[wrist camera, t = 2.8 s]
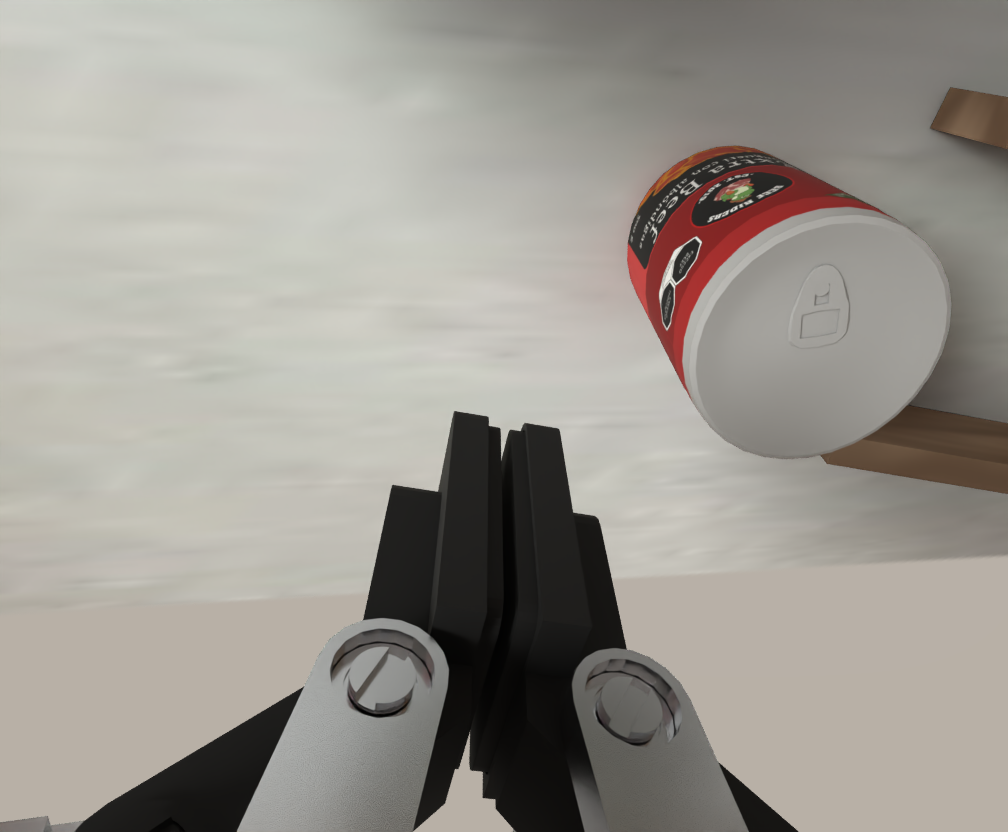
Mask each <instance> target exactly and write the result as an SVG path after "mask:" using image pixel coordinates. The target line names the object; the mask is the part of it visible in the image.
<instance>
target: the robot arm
mask: <svg viewBox="0 0 1008 832" xmlns="http://www.w3.org/2000/svg"><path fill="white" fill-rule="evenodd" d="M469 732H470V757H469V759H470V762H469V763H470V770H472V771H482V772H483V798H488V799H496V809H497V811H498V812H499V813H500V814H501V815H502V816H503V817H504V819H505V820H506V821H507V822H508V823H509V824H510V825H511V827H512V828H513V832H798V831H797V830H796V829H795V828H794V827H793V826H791V825H790V824H789V823H788V822H787V821H786V820H784V819H783V818H782V817H781V816H780V815H779V814H778V813H776V812H775V811H774V810H773V809H772V808H771V807H769V806H768V805H767V804H766V803H765V802H764V801H763V800H761V799H760V798H759V797H758V796H757V795H756V794H754V793H753V792H752V791H751V790H750V789H749V788H748V787H746V786H745V785H744V784H743V783H742V782H741V781H739V780H738V779H737V778H736V777H735V776H734V775H733V774H731V773H730V772H729V771H728V770H726V768H724V767H723V766H722V765H721V764H720V763H719V762H718V761H717V759H716V756H715V754H714V752H713V750H712V747H711V745H710V743H709V741H708V738H707V736H706V734H705V732H704V729H703V727H702V725H701V722H700V720H699V718H698V716H697V714H696V711H695V709H694V707H693V705H692V702H691V700H690V698H689V696H688V695H687V693H686V692H685V690H684V688H683V686H682V685H681V683H680V682H679V681H678V680H677V679H676V678H675V677H674V676H673V675H672V674H671V673H670V672H669V671H668V670H667V669H666V668H665V667H663V666H662V665H660V664H659V663H657V662H655V661H654V660H653V659H651V658H650V657H648V656H645V655H642V654H640V653H637V652H635V651H632V650H627V649H626V644H625V639H624V634H623V630H622V625H621V620H620V615H619V611H618V606H617V601H616V597H615V592H614V587H613V582H612V578H611V573H610V568H609V564H608V559H607V554H606V549H605V545H604V540H603V535H602V531H601V526H600V523H599V520H598V518H597V517H595V516H591V515H585V514H578V513H573V509H572V503H571V497H570V491H569V485H568V478H567V472H566V466H565V460H564V454H563V448H562V442H561V435H560V431H559V429H558V428H552V427H546V426H540V425H534V424H528V423H524V425H523V427H522V429H521V431H515V430H510V431H509V433H508V437H507V440H506V444H505V448H504V452H503V456H502V460H501V431H500V428H498V427H492V426H489V418H488V417H487V416H481V415H475V414H469V413H463V412H457V411H454V414H453V418H452V423H451V428H450V434H449V439H448V444H447V449H446V454H445V459H444V464H443V469H442V475H441V480H440V485H439V490H438V492H435V491H429V490H422V489H416V488H409V487H403V486H396V485H392V488H391V493H390V497H389V502H388V506H387V511H386V516H385V520H384V525H383V530H382V534H381V539H380V544H379V549H378V553H377V558H376V563H375V567H374V572H373V577H372V581H371V586H370V591H369V595H368V600H367V605H366V610H365V614H364V619H363V620H362V621H360V622H357V623H355V624H352V625H350V626H347V627H345V628H344V629H342V630H341V631H340V632H338V633H337V634H336V635H334V636H333V637H332V638H330V639H329V641H328V643H327V644H326V645H325V647H324V648H323V650H322V651H321V653H320V654H319V656H318V658H317V660H316V662H315V665H314V667H313V669H312V671H311V673H310V675H309V678H308V680H307V682H306V684H305V686H304V687H303V688H301V689H299V690H298V691H296V692H294V693H292V694H291V695H289V696H287V697H286V698H284V699H282V700H281V701H279V702H277V703H276V704H274V705H272V706H271V707H269V708H267V709H266V710H264V711H262V712H261V713H259V714H257V715H256V716H254V717H252V718H251V719H249V720H247V721H245V722H244V723H242V724H240V725H239V726H237V727H236V728H234V729H232V730H230V731H229V732H227V733H225V734H224V735H222V736H220V737H219V738H217V739H215V740H214V741H212V742H210V743H209V744H207V745H205V746H204V747H202V748H200V749H198V750H197V751H195V752H193V753H192V754H190V755H189V756H187V757H185V758H184V759H182V760H180V761H179V762H177V763H175V764H173V765H172V766H170V767H168V768H167V769H165V770H163V771H162V772H160V773H158V774H157V775H155V776H153V777H152V778H150V779H148V780H147V781H145V782H143V783H141V784H140V785H138V786H136V787H135V788H133V789H131V790H130V791H128V792H126V793H125V794H123V795H121V796H120V797H118V798H116V799H115V800H113V801H111V802H110V803H108V804H106V805H105V806H104V807H102V808H101V809H100V810H98V811H97V812H96V813H94V814H93V815H92V816H90V817H89V818H88V819H86V820H85V821H79V822H72V823H65V824H58V825H50V822H49V818H48V816H45V817H37V818H29V819H22V820H15V821H7V822H0V832H413V831H414V830H415V829H416V828H418V827H419V826H420V825H421V824H422V823H423V822H424V821H425V820H427V819H428V818H429V817H430V816H431V815H432V814H433V813H435V812H436V811H437V810H438V809H439V808H440V807H441V806H443V805H444V804H445V801H446V798H447V794H448V791H449V787H450V784H451V780H452V777H453V774H454V770H455V769H458V768H459V766H460V763H461V759H462V756H463V753H464V749H465V746H466V742H467V739H468V736H469Z"/></svg>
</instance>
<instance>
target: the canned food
mask: <svg viewBox="0 0 1008 832" xmlns="http://www.w3.org/2000/svg"><path fill="white" fill-rule="evenodd" d="M627 262H628V268H629V273H630V279H631V281H632V284H633V286H634V289H635V291H636V294H637V296H638V298H639V299H640V301H641V303H642V305H643V307H644V309H645V311H646V313H647V315H648V317H649V319H650V321H651V323H652V325H653V327H654V329H655V331H656V333H657V335H658V337H659V339H660V341H661V343H662V345H663V347H664V349H665V351H666V353H667V355H668V357H669V359H670V361H671V363H672V365H673V367H674V369H675V371H676V373H677V375H678V377H679V379H680V381H681V383H682V385H683V386H684V388H685V389H686V391H687V393H688V395H689V397H690V398H691V400H692V402H693V404H694V405H695V407H696V408H697V410H698V411H699V413H700V414H701V416H702V417H703V418H704V420H705V421H707V423H708V424H709V426H710V427H711V428H712V429H713V430H714V431H715V432H716V433H717V434H719V435H720V436H721V437H722V438H723V439H724V440H725V441H727V442H729V443H730V444H732V445H734V446H736V447H738V448H739V449H741V450H743V451H746V452H749V453H753V454H756V455H759V456H763V457H770V458H780V459H794V458H808V457H813V456H817V455H822V454H826V453H831V452H833V451H836V450H839V449H841V448H844V447H846V446H849V445H851V444H854V443H856V442H858V441H859V440H861V439H863V438H865V437H867V436H868V435H870V434H872V433H874V432H875V431H877V430H878V429H880V428H881V427H882V426H884V425H885V424H886V423H887V422H889V421H890V420H891V419H893V418H894V417H895V416H897V415H898V414H899V413H900V412H901V411H902V410H903V409H904V408H905V407H906V406H907V405H908V404H909V403H910V402H911V401H912V400H913V399H914V398H915V396H916V395H917V394H918V392H919V391H920V390H921V388H922V387H923V385H924V384H925V383H926V381H927V380H928V379H929V377H930V376H931V374H932V372H933V370H934V368H935V366H936V364H937V362H938V360H939V358H940V356H941V354H942V352H943V349H944V345H945V342H946V339H947V335H948V332H949V328H950V318H951V307H952V304H951V296H950V288H949V281H948V279H947V276H946V274H945V271H944V269H943V267H942V264H941V262H940V260H939V258H938V257H937V256H936V255H935V253H934V252H933V251H932V249H931V248H930V247H929V245H928V244H927V243H926V242H925V241H924V240H923V239H921V238H920V237H919V236H918V235H917V234H916V233H914V232H913V231H912V230H910V229H909V228H908V227H906V226H905V225H904V224H902V223H901V222H900V221H898V220H897V219H895V218H893V217H891V216H889V215H887V214H885V213H883V212H882V211H880V210H879V209H877V208H875V207H873V206H871V205H869V204H867V203H865V202H863V201H861V200H859V199H857V198H855V197H853V196H851V195H849V194H847V193H845V192H843V191H841V190H839V189H837V188H835V187H833V186H831V185H830V184H828V183H826V182H824V181H822V180H820V179H818V178H816V177H814V176H812V175H810V174H808V173H806V172H804V171H802V170H800V169H798V168H796V167H794V166H792V165H790V164H788V163H786V162H784V161H782V160H780V159H778V158H776V157H774V156H772V155H769V154H767V153H764V152H762V151H760V150H757V149H755V148H748V147H742V146H725V147H716V148H712V149H709V150H705V151H702V152H698V153H696V154H694V155H692V156H690V157H688V158H687V159H685V160H683V161H681V162H679V163H677V164H676V165H675V166H673V167H672V168H671V169H669V170H668V171H667V172H665V173H664V174H663V175H662V176H661V177H660V178H659V179H658V180H657V181H656V183H655V184H654V185H653V186H652V187H651V188H650V189H649V191H648V193H647V194H646V196H645V197H644V199H643V201H642V202H641V204H640V206H639V208H638V211H637V213H636V216H635V218H634V220H633V223H632V226H631V231H630V235H629V240H628V256H627Z"/></svg>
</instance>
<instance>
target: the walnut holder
mask: <svg viewBox="0 0 1008 832" xmlns="http://www.w3.org/2000/svg"><path fill="white" fill-rule="evenodd" d="M930 128H931V129H935V130H938V131H942V132H946V133H950V134H953V135H957V136H961V137H964V138H968V139H972V140H975V141H979V142H983V143H987V144H990V145H994V146H998V147H1001V148H1005V149H1008V97H1004V96H998V95H992V94H986V93H980V92H975V91H969V90H963V89H957V88H951V87H950V89H949V91H948V93H947V95H946V97H945V99H944V101H943V103H942V105H941V107H940V109H939V111H938V113H937V115H936V117H935V119H934V121H933V123H932V125H931V127H930ZM821 457H822V458H823V459H824V461H825V462H826V463H827V464H832V465H838V466H844V467H850V468H856V469H862V470H868V471H874V472H880V473H886V474H892V475H898V476H904V477H910V478H916V479H922V480H928V481H934V482H940V483H946V484H952V485H958V486H964V487H970V488H976V489H982V490H987V491H993V492H999V493H1005V494H1008V423H1002V422H997V421H991V420H986V419H980V418H975V417H969V416H964V415H958V414H953V413H947V412H942V411H936V410H931V409H925V408H920V407H914V406H909V405H907V406H906V407H905V408H904V409H903V410H902V411H901V412H900V413H899V414H898V415H897V416H895V417H894V418H893V419H891V420H890V421H889V422H887V423H886V424H885V425H884V426H882V427H881V428H880V429H878V430H877V431H875V432H874V433H872V434H870V435H868V436H867V437H865V438H863V439H861V440H859V441H858V442H856V443H854V444H851V445H849V446H846V447H844V448H841V449H839V450H836V451H833V452H831V453H826V454H822V455H821Z"/></svg>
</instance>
